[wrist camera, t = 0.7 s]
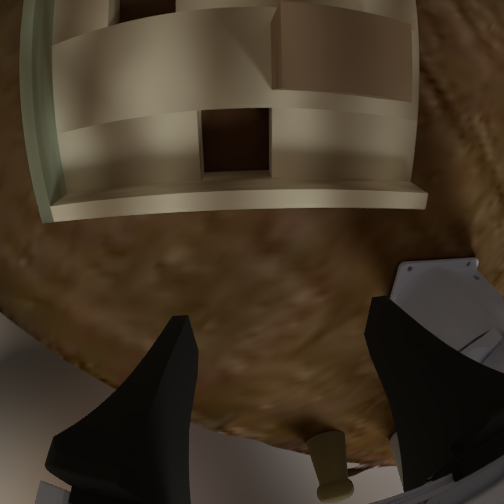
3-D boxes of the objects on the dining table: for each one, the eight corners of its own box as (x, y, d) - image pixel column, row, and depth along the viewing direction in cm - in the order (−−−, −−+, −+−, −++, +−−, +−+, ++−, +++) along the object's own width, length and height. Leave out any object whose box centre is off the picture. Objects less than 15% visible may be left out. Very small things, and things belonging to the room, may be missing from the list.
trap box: (398, -24, 11) (428, -40, 7) (396, 187, 19) (425, 209, 15) (58, -7, 10) (26, -19, 7) (71, 199, 18) (42, 223, 15)
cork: (300, 447, 39) (309, 508, 29) (314, 431, 36) (326, 499, 26) (335, 445, 40) (346, 502, 30) (351, 429, 37) (366, 492, 27)
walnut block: (376, 35, 12) (410, 23, 9) (376, 98, 14) (411, 102, 11) (270, 22, 12) (280, 1, 9) (271, 89, 14) (281, 87, 11)
